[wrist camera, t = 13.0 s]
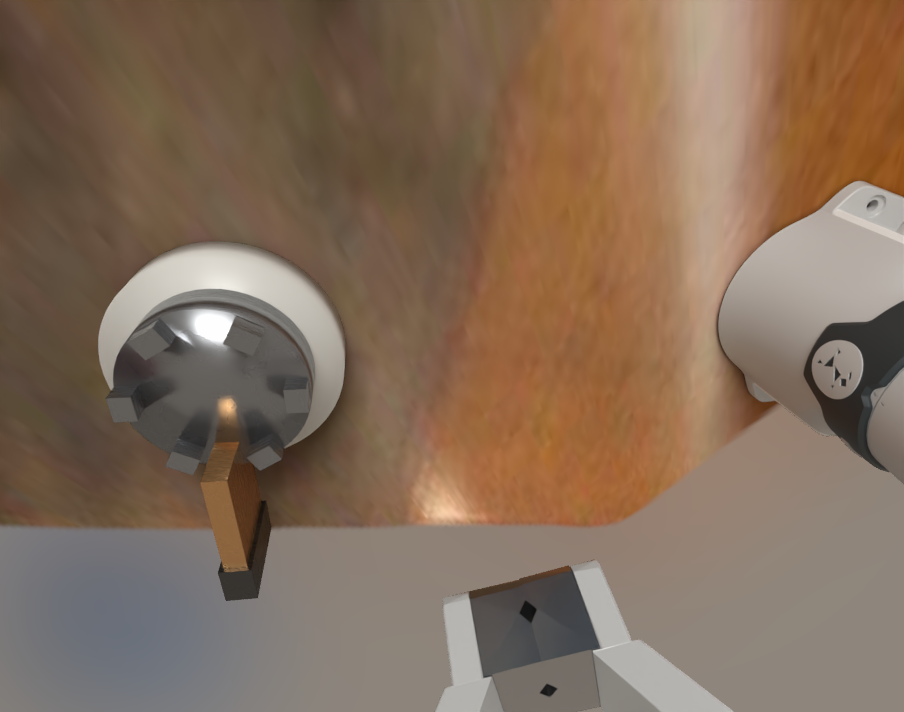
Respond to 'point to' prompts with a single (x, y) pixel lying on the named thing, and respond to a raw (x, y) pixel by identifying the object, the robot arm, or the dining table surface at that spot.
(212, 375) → the lugged steel disc
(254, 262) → the white round plate
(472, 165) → the dining table surface
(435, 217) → the dining table surface
